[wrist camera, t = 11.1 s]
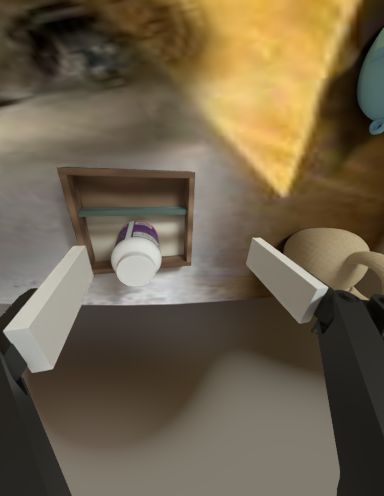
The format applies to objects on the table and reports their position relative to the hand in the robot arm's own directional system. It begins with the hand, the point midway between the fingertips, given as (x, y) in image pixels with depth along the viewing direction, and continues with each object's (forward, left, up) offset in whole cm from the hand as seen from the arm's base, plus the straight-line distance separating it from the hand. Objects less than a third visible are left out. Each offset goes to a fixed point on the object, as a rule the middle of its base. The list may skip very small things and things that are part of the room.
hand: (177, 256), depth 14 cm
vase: (+14, +40, -26) cm, 49 cm away
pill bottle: (+8, -5, -25) cm, 26 cm away
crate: (+5, -4, -25) cm, 26 cm away
